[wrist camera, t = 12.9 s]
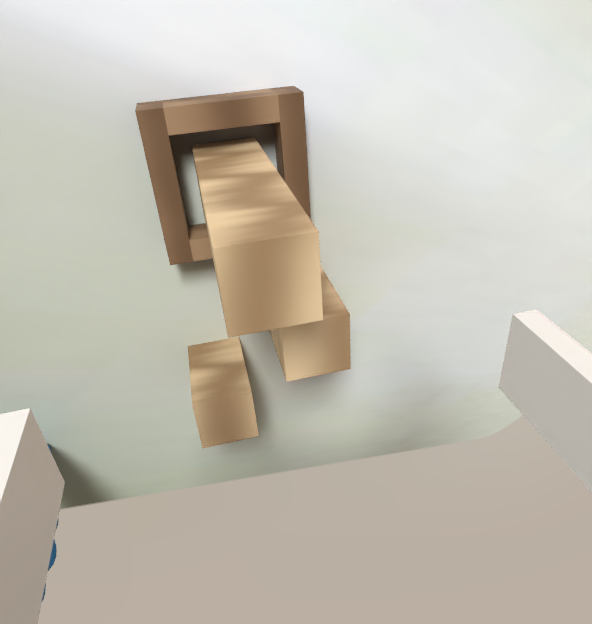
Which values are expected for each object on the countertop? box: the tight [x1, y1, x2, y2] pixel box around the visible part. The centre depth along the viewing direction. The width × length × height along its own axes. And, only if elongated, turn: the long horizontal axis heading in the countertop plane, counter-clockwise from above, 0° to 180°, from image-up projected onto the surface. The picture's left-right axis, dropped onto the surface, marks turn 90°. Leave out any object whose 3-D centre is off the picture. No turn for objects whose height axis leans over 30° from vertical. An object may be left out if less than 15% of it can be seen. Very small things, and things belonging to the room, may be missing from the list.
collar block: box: [135, 86, 311, 265], centre depth 32 cm, size 10×10×2 cm
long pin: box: [192, 137, 323, 338], centre depth 27 cm, size 4×4×16 cm
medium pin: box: [270, 265, 350, 382], centre depth 34 cm, size 4×4×10 cm
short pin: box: [188, 337, 259, 448], centre depth 38 cm, size 4×4×7 cm
